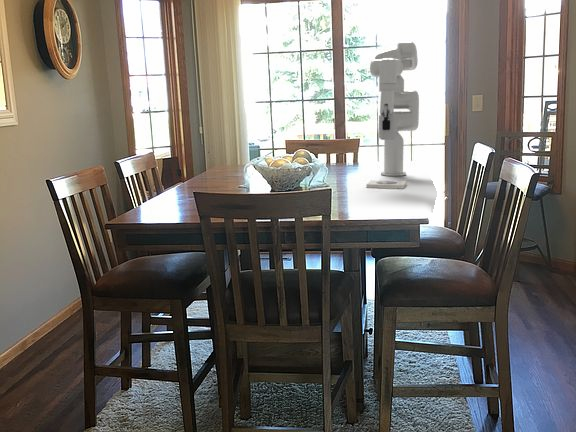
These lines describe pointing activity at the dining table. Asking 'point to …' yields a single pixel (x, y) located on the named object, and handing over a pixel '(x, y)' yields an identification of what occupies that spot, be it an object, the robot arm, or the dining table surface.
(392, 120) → the can
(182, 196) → the dining table surface
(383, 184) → the tile
